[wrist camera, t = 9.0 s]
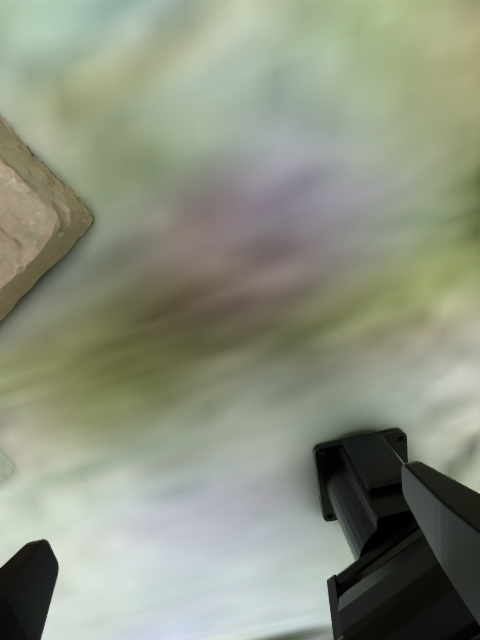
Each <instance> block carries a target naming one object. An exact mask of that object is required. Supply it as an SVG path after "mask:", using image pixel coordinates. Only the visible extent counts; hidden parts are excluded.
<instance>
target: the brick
mask: <svg viewBox="0 0 480 640" xmlns="http://www.w3.org/2000/svg"><path fill="white" fill-rule="evenodd" d="M92 221H93V216H92V215H91V214H90V212H89V211H88V210H87V208H86V207H85V205H84V204H83V203H82V202H81V201H80V200H78V195H77V194H76V193H75V192H74V191H73V190H72V189H71V188H67V187H66V186H65V185H64V184H63V182H61V181H58V180H57V179H56V178H55V176H54V175H53V174H52V173H51V171H50V170H49V169H48V168H47V167H46V166H45V165H44V164H43V162H40V160H39V159H38V158H36V157H34V156H33V155H32V154H31V153H30V151H29V150H28V146H26V145H25V144H24V143H23V142H22V141H21V140H20V139H19V138H18V137H17V135H16V133H15V132H14V130H13V128H12V127H11V126H10V125H9V124H8V123H7V121H6V120H5V119H4V118H2V117H1V116H0V321H1V320H3V319H4V318H5V317H6V316H7V315H8V313H9V312H10V311H11V310H12V308H13V307H14V306H15V305H16V303H17V302H18V301H19V300H20V299H21V298H22V297H23V296H24V295H25V294H26V293H27V292H28V291H29V290H30V289H32V287H33V286H34V284H35V283H36V282H37V280H38V279H39V278H40V277H41V276H42V275H43V274H44V273H45V272H46V271H48V270H49V269H50V268H51V267H52V266H53V265H54V264H55V263H57V262H58V261H59V260H60V259H62V258H63V257H64V256H65V255H66V254H67V253H68V252H69V251H70V250H71V248H72V247H73V245H74V244H75V243H76V241H77V240H78V239H79V238H80V237H81V236H82V235H83V234H84V233H85V231H86V230H87V229H88V228H89V227H90V225H91V223H92Z"/></svg>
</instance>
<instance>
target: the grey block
mask: <svg viewBox="0 0 480 640" xmlns="http://www.w3.org/2000/svg"><path fill="white" fill-rule="evenodd" d="M15 467H16V466H15V465H14V463H13V462H12V461H11V460H10V459H9V458H8V456H7V455H6V454H5V453H4V452H3V451H2V449H1V448H0V485H1V483H2V482H3V481H4V480H5V479H6V477H7V476H8V475H9V474H10V473H11V471H12V470H13V469H14V468H15Z"/></svg>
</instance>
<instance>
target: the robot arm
mask: <svg viewBox="0 0 480 640" xmlns="http://www.w3.org/2000/svg"><path fill="white" fill-rule="evenodd" d="M399 435H400V436H399ZM398 436H399V437H398ZM397 437H398V438H397ZM322 451H323V453H321V454H319V453H320V452H322ZM313 453H314V460H315V467H316V475H317V482H318V489H319V496H320V504H321V511H322V515H323V518H324V520H326V521H335V520H338V521H339V523H340V526H341V528H342V530H343V533H344V535H345V538H346V540H347V542H348V545H349V547H350V549H351V552H352V554H353V556H354V559H355V562H354V563H352V564H351V565H350V566H348V567H347V568H346V569H345V570H343V571H342V572H341V573H339V574H338V575H337V576H336V575H333V576H332V577H331V578H329V579H328V580H327V586H328V594H329V603H330V611H331V620H332V628H333V637H334V640H480V494H479V493H477V492H476V491H474V490H472V489H470V488H468V487H466V486H465V485H463V484H461V483H459V482H457V481H455V480H453V479H452V478H450V477H448V476H446V475H444V474H442V473H440V472H439V471H437V470H435V469H433V468H431V467H429V466H428V465H426V464H424V463H422V462H419V461H414V462H409V463H408V456H407V436H406V434H405V433H404V432H403V431H402V430H401V429H394V430H389V431H384V432H379V433H374V434H369V435H365V436H360V437H355V438H350V439H345V440H340V441H336V442H331V443H326V444H321V445H318V446H316V447H315V448H314V451H313ZM58 570H59V566H58V561H57V559H56V557H55V555H54V552H53V550H52V548H51V546H50V544H49V542H48V541H47V540H45V539H42V540H37V541H32V542H29V543H27V544H26V545H25V546H23V547H22V548H21V549H20V550H19V551H18V552H17V553H16V554H15V555H14V556H13V557H12V558H11V559H10V560H9V561H7V562H6V563H5V564H4V565H3V566H2V567H1V568H0V640H41V637H42V633H43V629H44V626H45V622H46V618H47V614H48V610H49V606H50V603H51V599H52V595H53V591H54V587H55V584H56V580H57V576H58Z"/></svg>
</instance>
